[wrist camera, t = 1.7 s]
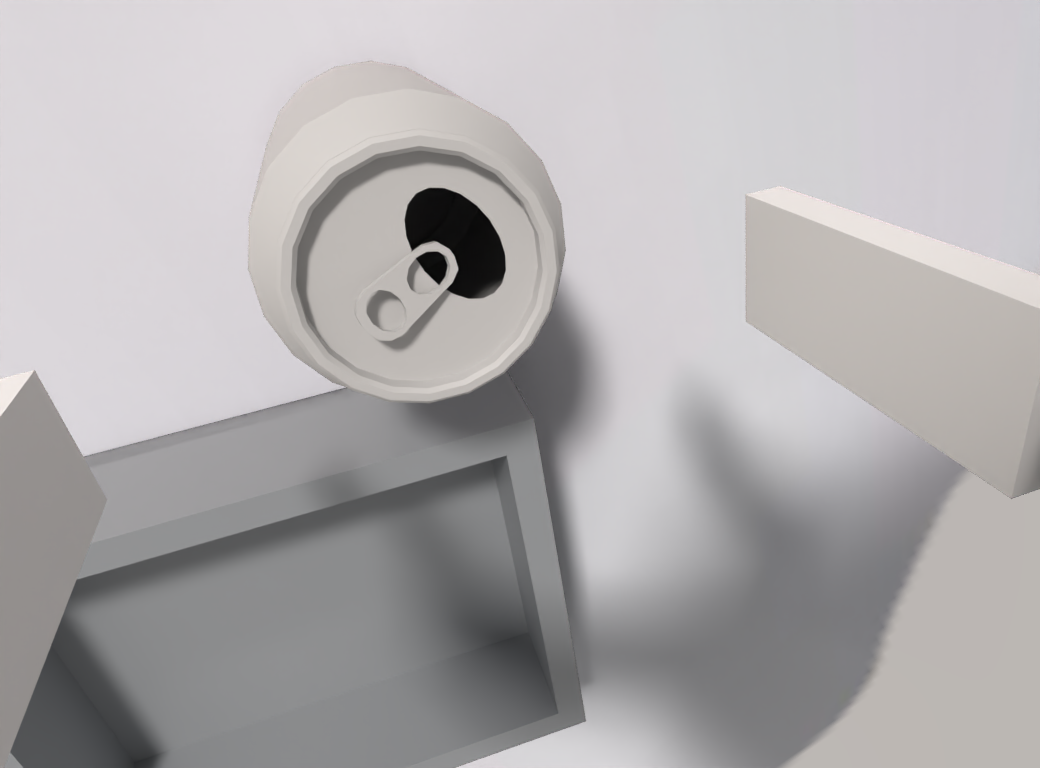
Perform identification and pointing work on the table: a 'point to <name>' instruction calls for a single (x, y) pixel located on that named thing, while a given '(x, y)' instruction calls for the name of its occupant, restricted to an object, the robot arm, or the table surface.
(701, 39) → the table surface
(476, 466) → the bin
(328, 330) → the can
